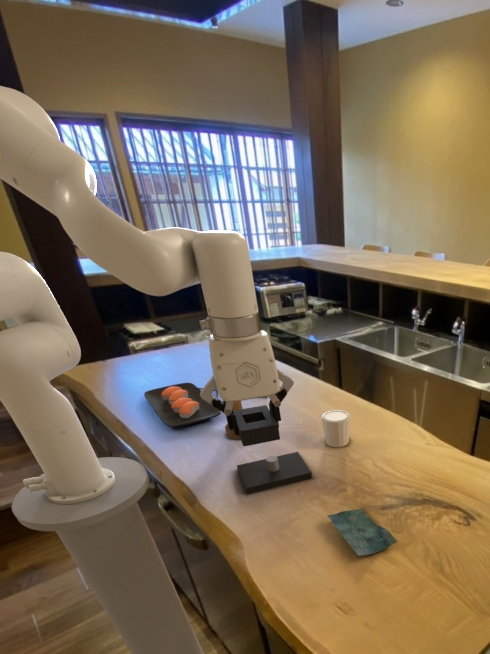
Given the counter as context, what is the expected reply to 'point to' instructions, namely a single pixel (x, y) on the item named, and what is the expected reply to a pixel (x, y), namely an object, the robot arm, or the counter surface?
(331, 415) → the white cup
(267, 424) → the black block with hole
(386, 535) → the nori seaweed sheet
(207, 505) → the counter surface
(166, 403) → the sushi plate
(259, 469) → the base pad
